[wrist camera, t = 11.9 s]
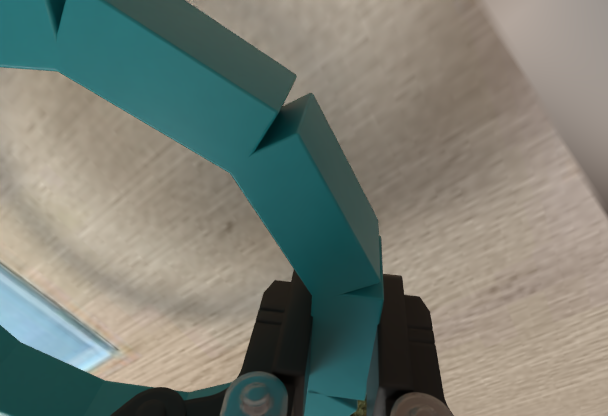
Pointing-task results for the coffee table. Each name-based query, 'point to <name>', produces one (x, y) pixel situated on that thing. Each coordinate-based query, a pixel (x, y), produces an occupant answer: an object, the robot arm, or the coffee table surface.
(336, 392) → the ring
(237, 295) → the coffee table surface
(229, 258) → the coffee table surface
